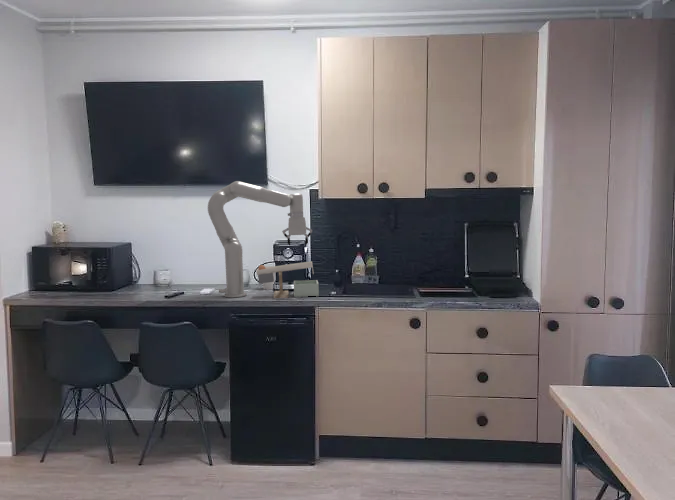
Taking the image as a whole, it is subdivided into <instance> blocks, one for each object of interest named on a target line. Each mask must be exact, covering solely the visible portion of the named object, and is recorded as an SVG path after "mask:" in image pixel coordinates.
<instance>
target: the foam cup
mask: <svg viewBox="0 0 675 500" xmlns="http://www.w3.org/2000/svg"><path fill="white" fill-rule="evenodd" d="M264 266H265V268H266V267H273V266H274V265H273V266H272V265H268V266H267V265H264ZM276 273H277V272H275V273H273V277H274V282H275V281H276ZM274 282H268V283H262V287H263V290H265V291H266V290H268V291H269V290H274V289H273V284H274ZM274 285H275V284H274Z"/></svg>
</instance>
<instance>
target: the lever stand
mask: <svg viewBox="0 0 675 500" xmlns="http://www.w3.org/2000/svg"><path fill="white" fill-rule="evenodd" d="M283 285H284V284H283V271H279V272H278V286H279V288H278V289H279V290H274V292H273V299H283V298H284V299H286V298H287V299H288V298H289V290H284V289H283V288H284V287H283Z"/></svg>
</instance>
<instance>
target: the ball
mask: <svg viewBox="0 0 675 500" xmlns="http://www.w3.org/2000/svg"><path fill="white" fill-rule="evenodd" d="M265 266H266V265H263V264H260V265H259V266H258V268H257V269H258V270H262V269H266V268H265Z"/></svg>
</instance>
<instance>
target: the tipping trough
mask: <svg viewBox="0 0 675 500" xmlns="http://www.w3.org/2000/svg"><path fill="white" fill-rule="evenodd" d="M313 265H314V264H313V260H312V261H305V262H296V263H289V264H282V265H275V266H274V265H273V267H266V269H262V270H258V268H257V269H256V270H255V271H256V276H257V277H258V278H257V279H258V284H259V285H260V284H261V285H262V284H263V283H268V282H274V277H273V273H275V272H276V273H279V271H282V272H288V271H297V270H303V269H310V268H311V269H312V275H314V274H315V272H314V267H313ZM276 273H275V274H276Z"/></svg>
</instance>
